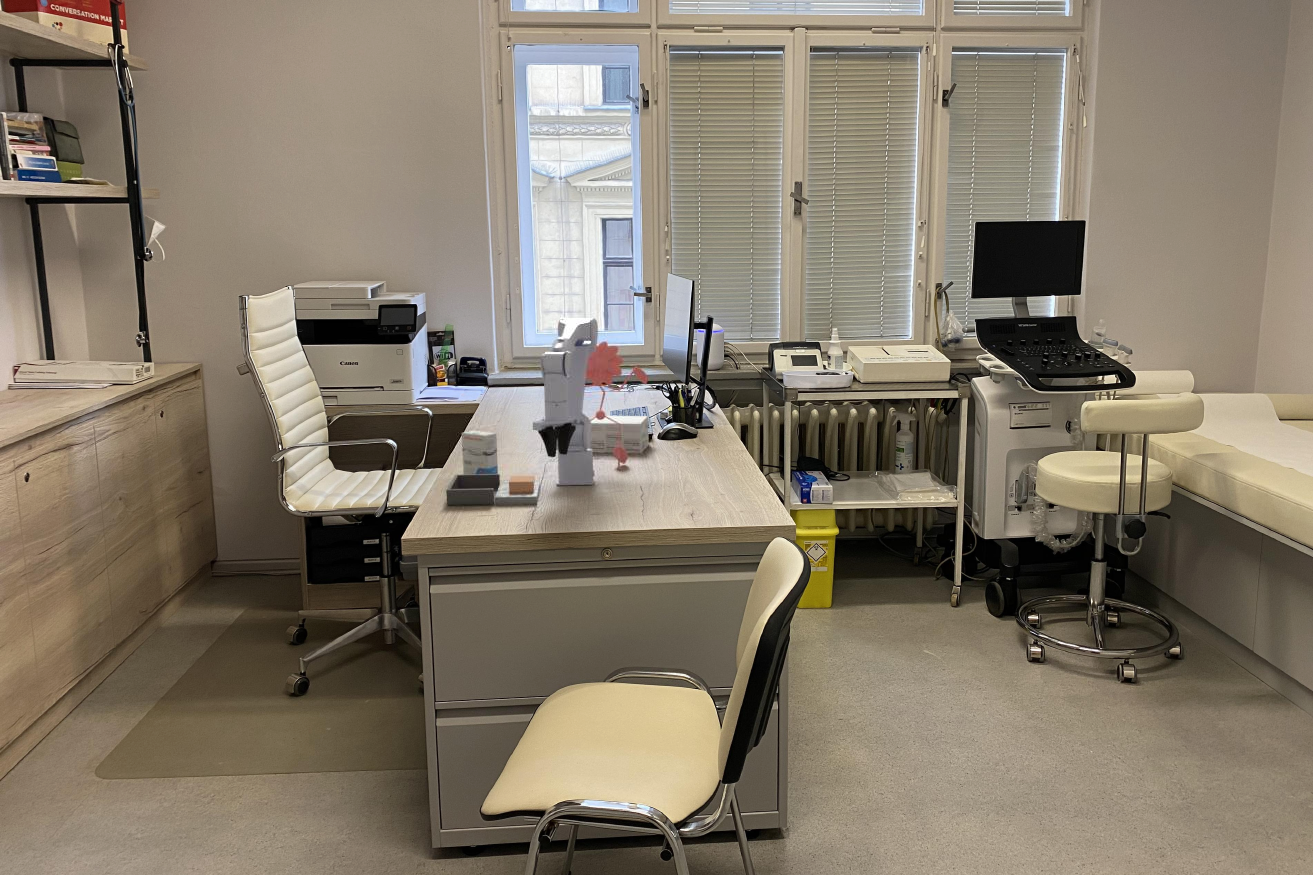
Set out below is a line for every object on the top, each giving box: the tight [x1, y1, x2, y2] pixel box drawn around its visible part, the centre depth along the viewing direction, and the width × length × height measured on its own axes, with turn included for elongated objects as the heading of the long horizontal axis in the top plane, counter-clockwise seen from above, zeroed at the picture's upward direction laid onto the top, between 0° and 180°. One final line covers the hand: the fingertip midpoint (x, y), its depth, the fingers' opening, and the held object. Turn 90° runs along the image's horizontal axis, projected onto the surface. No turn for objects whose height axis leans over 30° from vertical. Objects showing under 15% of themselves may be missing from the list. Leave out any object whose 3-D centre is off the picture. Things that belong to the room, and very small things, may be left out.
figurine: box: [585, 341, 649, 470], centre depth 283 cm, size 15×26×35 cm, turn 95°
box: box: [445, 473, 501, 507], centre depth 250 cm, size 11×16×4 cm
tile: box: [508, 475, 536, 492], centre depth 251 cm, size 6×6×2 cm
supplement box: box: [588, 415, 650, 454], centre depth 307 cm, size 17×13×9 cm
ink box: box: [461, 430, 499, 474], centre depth 273 cm, size 8×5×12 cm, turn 59°
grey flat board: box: [494, 480, 541, 506], centre depth 251 cm, size 10×16×2 cm, turn 3°
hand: (557, 455), depth 249 cm, fingers open, 3 cm apart
